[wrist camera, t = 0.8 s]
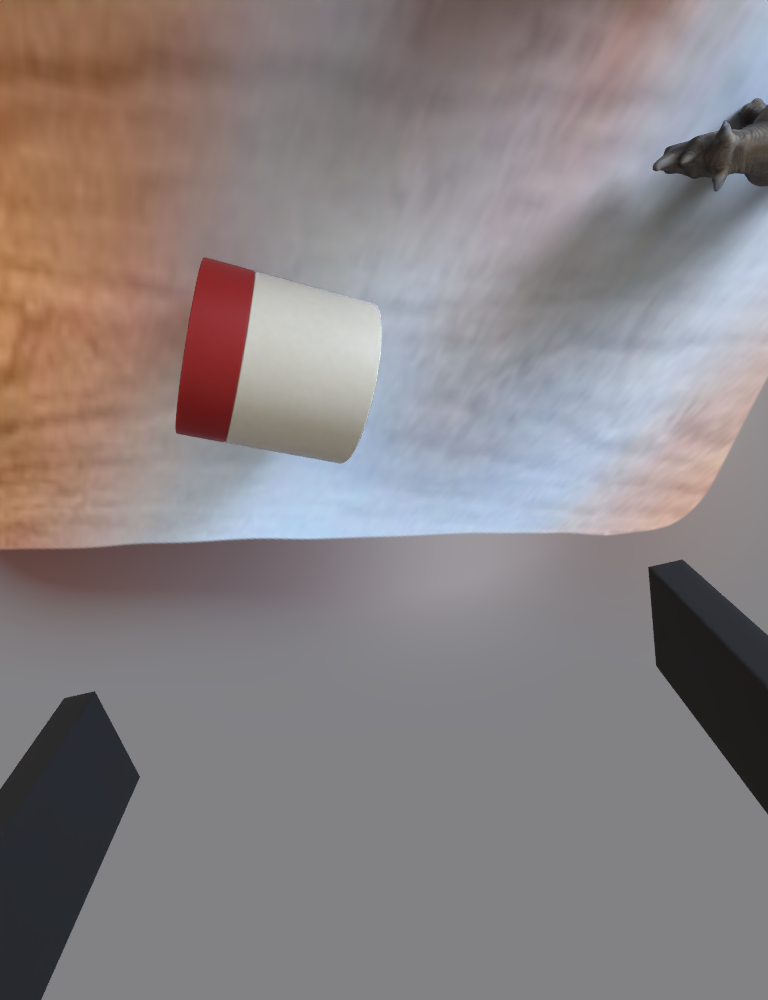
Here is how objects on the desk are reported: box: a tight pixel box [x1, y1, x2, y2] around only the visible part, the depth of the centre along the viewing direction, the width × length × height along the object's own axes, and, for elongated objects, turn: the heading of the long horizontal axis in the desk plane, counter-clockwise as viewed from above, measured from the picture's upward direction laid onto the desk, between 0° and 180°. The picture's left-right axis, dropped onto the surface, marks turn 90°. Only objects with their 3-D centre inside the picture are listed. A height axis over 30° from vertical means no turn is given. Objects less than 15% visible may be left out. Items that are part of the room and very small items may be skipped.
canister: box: [176, 257, 382, 463], centre depth 31 cm, size 9×9×9 cm
